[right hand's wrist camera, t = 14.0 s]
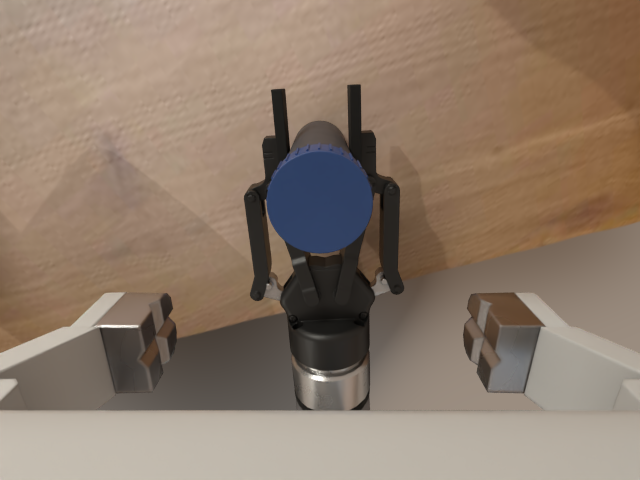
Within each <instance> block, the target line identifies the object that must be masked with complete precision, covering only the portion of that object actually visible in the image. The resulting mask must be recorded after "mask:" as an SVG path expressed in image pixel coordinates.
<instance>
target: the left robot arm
mask: <svg viewBox="0 0 640 480" xmlns="http://www.w3.org/2000/svg"><path fill="white" fill-rule="evenodd" d="M347 89H348V128H349V150H350V153H351V154H352V156H353V158H354V159H355V160H356V161H357V160H358V161H359V162H360V164H361V166H362V169H364V170H365V172H366V174H367V176H368V178H367V179H368V180H369V182H370V184H371V186H372V189H371V190H372V196H373V197H374V193H378V194H380V240H379V256H380V263H381V266H382V267H379V268H378V269H377V270H376V271H375V279H374V281H372V282H371V283H370V282H369V280H368V279H367V278H366V277H365V276H364V275H363V274H362V272H361V271H360V270H359V269H358V268H357V265H358V257H359V253H360V249H361V245H362V241H363V237H364V233H365V230H364V231H363V233H362V234H361V235H360V236H359V237H358V238H357V239H356V240H355V241H354V242H352V243H351V244H350V245H348V246H346V247H344V248H342V249H341V250H340V254H339V255H332V256H329V257H319V256H311V254H310V252H306V251H303V250H300V249H297V248H295V247H293V246H292V245H290V244H289V243H287V242H286V241H285V243H286V246H287V249H288V251H289V254H290V257H291V260H292V265H293V269H294V272H293V273H292V275H291V276H290V278H289V279H288V281H287V282H286V283H285V285H284V286H281V285H279V283H278V277H277V275H276V274H275V273H273V272H271V265H272V261H271V251H270V243H269V234H268V225H267V217H266V208H265V199H266V198H267V194H268V190H267V188H268V186H269V184H270V182H271V180H272V179H271V177H272V175H273V173H274V171H275V170H277V167H278V165H279V163H280V162H281V161H282V162H283V160H284V159H285V158H286V157H287V155H288V154H289V152H290V144H289V132H288V119H287V107H286V95H285V89H274V90H271V93H272V104H273V114H274V125H275V135H276V136H266V137H265V138H264V140H263V144H262V148H263V158H264V167H265V180H263V181H261V182H259V183H257V184H256V183H255V184H252V185H251V186H250V188H249V189H248V190H247V192H246V194H245V195H244V202H245V209H246V216H247V224H248V231H249V239H250V246H251V253H252V261H253V268H254V275H255V277H254V281H253V285H252V289H251V292H250V296H251V298H252V299H253V300H255V301H260V300H262V299H263V297H267V298H271V299H275V300H279V301H280V304H281V306H282V307H283V308H284V310H285V311H286V314H287V319H288V329H289V339H290V348H291V352H292V357H291V360H292V369H293V378H294V386H295V395H296V404H297V410H370V402H369V391H370V358H369V357H370V356H369V310H370V307H371V305H372V304H373V302H374V300H375V296H378V295H380V294H383V293H386V292H389V291H391V292H392V293H393V294H396V295H397V294H400V293H402V292H403V290H404V285H403V283H402V280H401V277H400V275H399V272H398V238H399V203H400V189H399V187H398V185H397V184H396V182H395V181H394V180H393V179H392V178H391V177H385V176H382V175H379V174H377V173H376V138H375V135H374V133H373V132H372V131H371V130H367V131H361V85H347ZM365 229H366V228H365Z"/></svg>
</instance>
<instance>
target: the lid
mask: <svg viewBox="0 0 640 480" xmlns="http://www.w3.org/2000/svg"><path fill="white" fill-rule="evenodd" d="M367 178H368V176H367V174H366V172H365V170H364V169H362V166H361V164H360V162H359V161H358V160H357V161H356V160H355V159H354V158H353V156H352V154H351V153H347V152H346V151H344V150H343V149H342V148H341V147H340V148H338V147H335V146H332V144H329V145H326V144H320V143H318V144H313V145H309V144H307V146H305V147H302V148H300V149H299V147H298V148H297V149H296V151H294V152H293V153H291V154H288V155H287V157H286V158H285V159H284V160H283V162H282V161H281V162H280V163H279V165H278V167H277V170H275V171H274V173H273V175H272V177H271V179H272V180H271V182H270V184H269V186H268V188H267V190H268V194H267V198H266V201H267V211H268V215H269V218H270V221H271V223H272V225H273V227H274V229H275V230H276V232H277V233H278V234H279V235H280V236H281V237H282V239H283V240H285V241H286V242H287V243H289V244H290V245H292V246H293V247H295V248H297V249H300V250H303V251H306V252H311V253H329V252H334V251H337V250H340V249H342V248H344V247H346V246H348V245H350V244H351V243H352V242H354V241H355V240H356V239H357V238H358V237H359V236H360V235H361V234H362V233H363V231H364V230H365V228H366V226H367V225H368V223H369V220H370V218H371V214H372V208H373V196H372V190H371V189H372V186H371V184H370V182H369V180H368V179H367Z"/></svg>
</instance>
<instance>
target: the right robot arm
mask: <svg viewBox="0 0 640 480" xmlns="http://www.w3.org/2000/svg"><path fill="white" fill-rule="evenodd" d="M172 309H173V307H172V302H171V297H170V296H169V295H168V294H167V293H127V292H113V293H105V294H104V295H103V296H102V297H100V298H99V299H98V300H97V301H96V302H95V303H94V304H93V305H92V306H91V307H90V308H89V309H88V310H87V311H86V312H85V313H84V314H83V315H82V316H81V317H80V318H79V319H78V320H76V321H75V322H74V323H73V324H72V325H71V326H70V327H62V328H59V329H57V330H55V331H52V332H50V333H47V334H45V335H43V336H40V337H38V338H35V339H33V340H31V341H28V342H26V343H23V344H21V345H19V346H16V347H14V348H11V349H9V350H7V351H4V352H2V353H0V480H640V353H638V352H636V351H633V350H631V349H628V348H626V347H624V346H621V345H619V344H616V343H614V342H612V341H609V340H607V339H604V338H602V337H600V336H597V335H595V334H593V333H590V332H588V331H585V330H583V329H581V328H578V327H570V326H569V325H568V324H567V323H566V322H565V321H564V320H563V319H561V318H560V317H559V316H558V315H557V314H556V313H555V312H554V311H553V310H552V309H551V308H550V307H549V306H548V305H547V304H546V303H545V302H544V301H543V300H542V299H541V298H540V297H539V296H538V295H537V294H535V293H532V292H520V293H476V294H471V296H470V298H469V301H468V307H467V309H468V311H469V312H470V314H471V316H472V317H471V318H470V319H469V320H468V321H467V322H466V323H465V325H464V333H463V338H464V347H465V350H466V353H467V355H468V357H469V359H470V361H472V362H474V363H475V364H477V365H478V368H477V374H478V376H479V378H480V379H481V381H482V383H483V385H484V387H485V388H486V390H487V392H494V393H524V395H525V396H526V397H527V398H529V399H530V400H531V401H533V402H534V403H535V404H537V405H538V406H539V407H541V408H542V409H543V410H97V409H98V408H100V407H101V406H102V405H104V404H105V403H106V402H107V401H109V400H110V399H111V398H113V397H114V396H115V395H116V393H145V392H153V390H154V388H155V387H156V385H157V383H158V381H159V379H160V378H161V376H162V374H163V368H162V365H163V364H165V363H166V362H168V361H170V359H171V357H172V355H173V353H174V350H175V346H176V338H177V332H176V325H175V323H174V322H173V321H172V320H171V319H170V318H169V317H168V316H169V314H170V312H171V311H172Z"/></svg>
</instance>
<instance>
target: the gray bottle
mask: <svg viewBox="0 0 640 480" xmlns="http://www.w3.org/2000/svg"><path fill="white" fill-rule="evenodd" d="M318 143H320V144H326V145H329V144H332V146H335V147H338V148H340V147H341V148H342V149H343V150H344V151H346V152H347V153H350V150H349V148H348V146H347V143H346V141H345V139H344V137H343V134H342V133H341V131H340V130H339V129H338V128H337V127H336V126H334V125H333V124H331V123H329V122H325V121H315V122H311V123H309V124H307V125H305V126H304V127H303V128H302V129H301V130H300V131H299V133H298V134H297V136H296V138H295V141H294V143H293V145H292V148H291V150H290V152H289V154H291V153H293V152H294V151H296V149H297V148H298V147H299V149H300V148H302V147H305V146H307V144H309V145H313V144H318Z"/></svg>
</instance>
